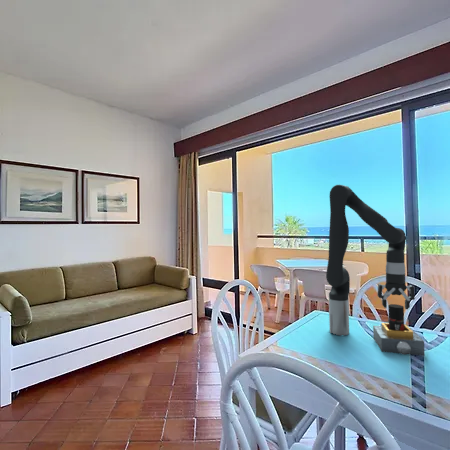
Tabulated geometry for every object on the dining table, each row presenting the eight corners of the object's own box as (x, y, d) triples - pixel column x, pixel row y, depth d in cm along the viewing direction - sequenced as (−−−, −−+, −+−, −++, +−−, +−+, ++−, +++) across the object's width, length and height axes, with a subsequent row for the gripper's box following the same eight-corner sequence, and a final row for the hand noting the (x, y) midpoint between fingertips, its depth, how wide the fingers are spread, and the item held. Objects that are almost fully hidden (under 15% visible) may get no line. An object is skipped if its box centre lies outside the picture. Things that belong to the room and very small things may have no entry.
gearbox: (382, 353, 121) (382, 333, 121) (373, 337, 139) (373, 320, 139) (426, 357, 117) (425, 336, 117) (411, 340, 134) (410, 322, 134)
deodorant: (400, 337, 131) (399, 304, 131) (407, 342, 125) (406, 307, 126) (386, 336, 132) (386, 304, 132) (392, 341, 126) (392, 307, 126)
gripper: (379, 273, 127) (380, 309, 127) (416, 274, 123) (417, 311, 123) (376, 270, 134) (376, 304, 134) (410, 271, 130) (410, 306, 130)
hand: (395, 308), depth 129 cm, fingers open, 8 cm apart
